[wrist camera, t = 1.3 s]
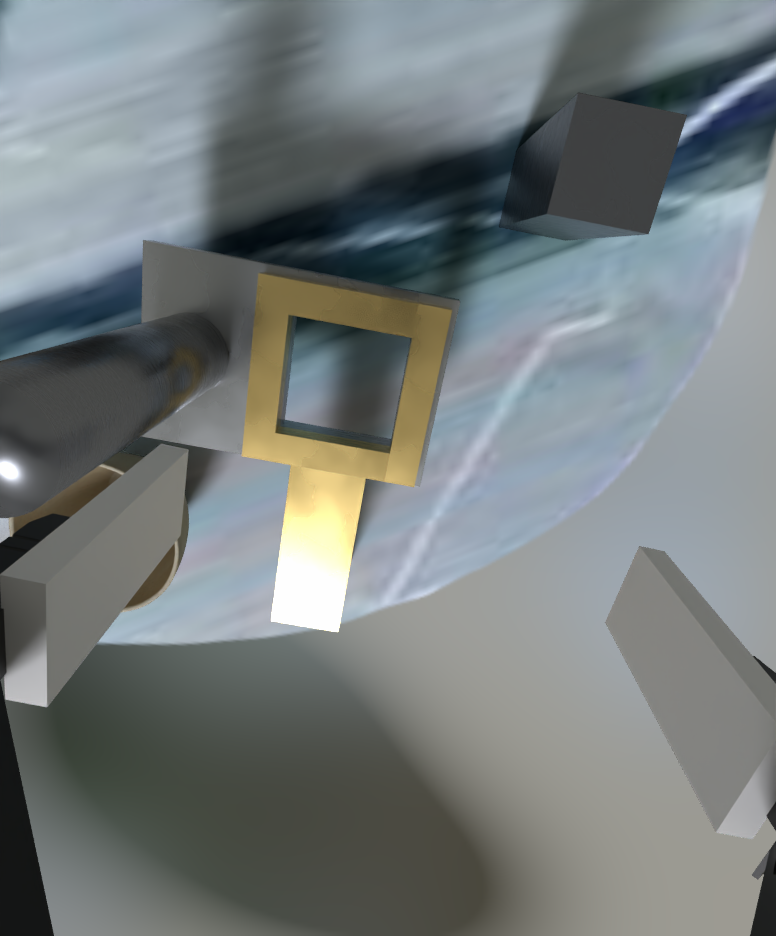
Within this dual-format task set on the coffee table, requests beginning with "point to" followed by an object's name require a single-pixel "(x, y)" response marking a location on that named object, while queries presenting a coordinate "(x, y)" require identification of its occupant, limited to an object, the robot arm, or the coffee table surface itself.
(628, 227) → the dark grey block
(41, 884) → the robot arm
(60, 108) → the coffee table surface
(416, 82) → the coffee table surface
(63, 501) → the flower pot
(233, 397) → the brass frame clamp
